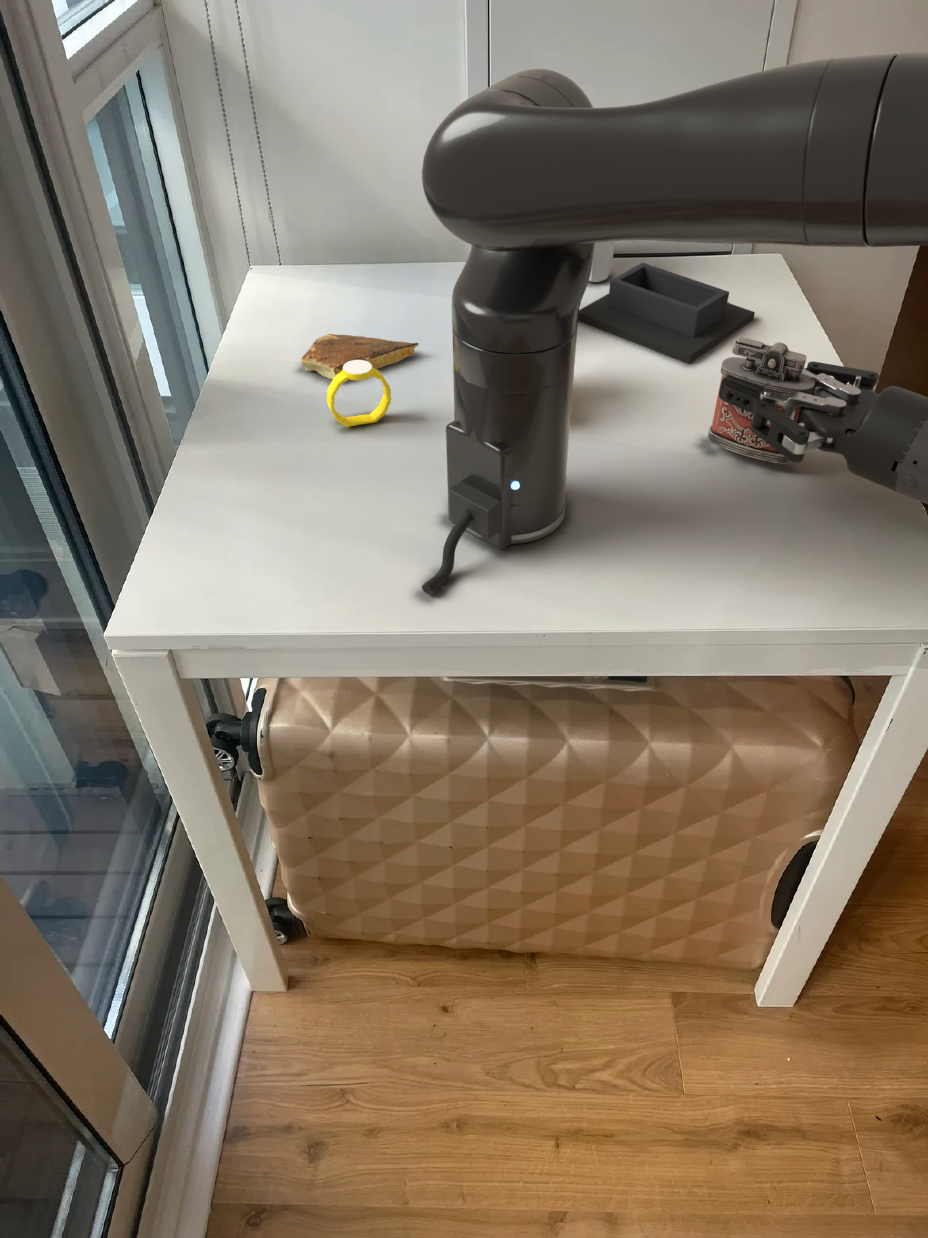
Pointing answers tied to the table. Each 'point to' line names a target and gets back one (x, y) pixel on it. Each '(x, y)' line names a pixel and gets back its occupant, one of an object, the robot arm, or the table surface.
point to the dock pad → (666, 312)
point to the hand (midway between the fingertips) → (736, 377)
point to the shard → (353, 353)
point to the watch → (358, 372)
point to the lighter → (773, 373)
